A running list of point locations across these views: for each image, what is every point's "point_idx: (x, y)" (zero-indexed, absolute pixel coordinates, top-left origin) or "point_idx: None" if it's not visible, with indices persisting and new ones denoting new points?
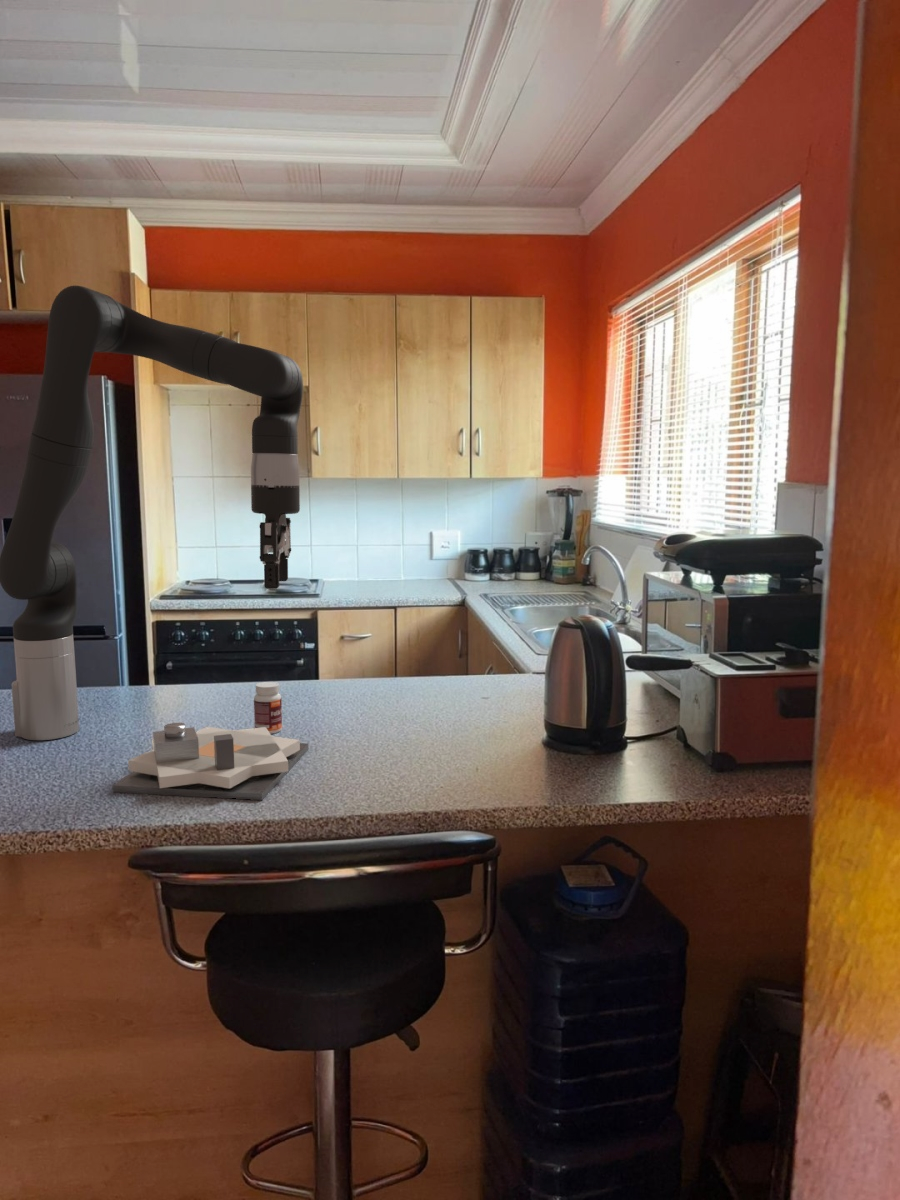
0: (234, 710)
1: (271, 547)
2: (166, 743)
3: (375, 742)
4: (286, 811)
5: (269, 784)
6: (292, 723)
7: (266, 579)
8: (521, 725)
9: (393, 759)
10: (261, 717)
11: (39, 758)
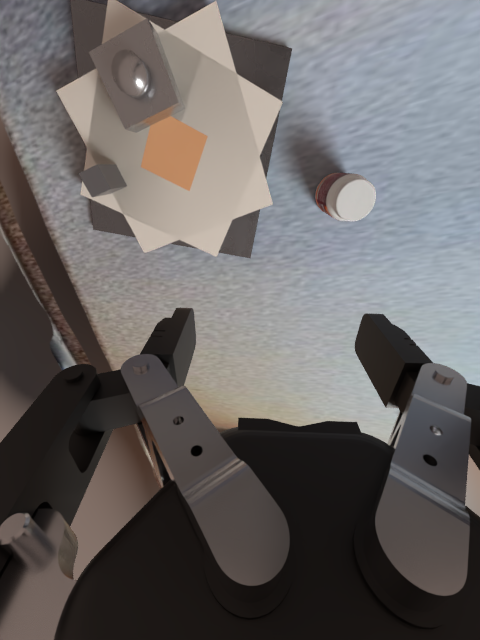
0: (464, 108)
1: (150, 445)
2: (99, 74)
3: (269, 320)
4: (79, 255)
5: (119, 233)
6: (359, 223)
7: (154, 330)
8: (304, 425)
9: (218, 335)
10: (322, 188)
11: None
